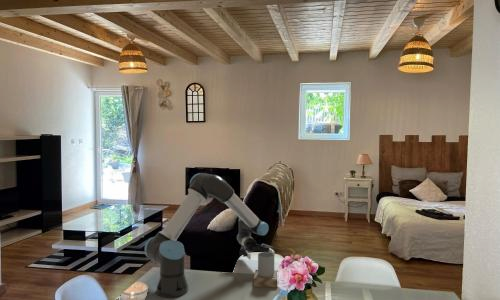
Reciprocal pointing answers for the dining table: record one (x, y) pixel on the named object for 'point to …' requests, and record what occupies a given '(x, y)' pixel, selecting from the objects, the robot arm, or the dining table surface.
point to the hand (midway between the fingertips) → (262, 255)
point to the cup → (266, 264)
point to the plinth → (265, 280)
